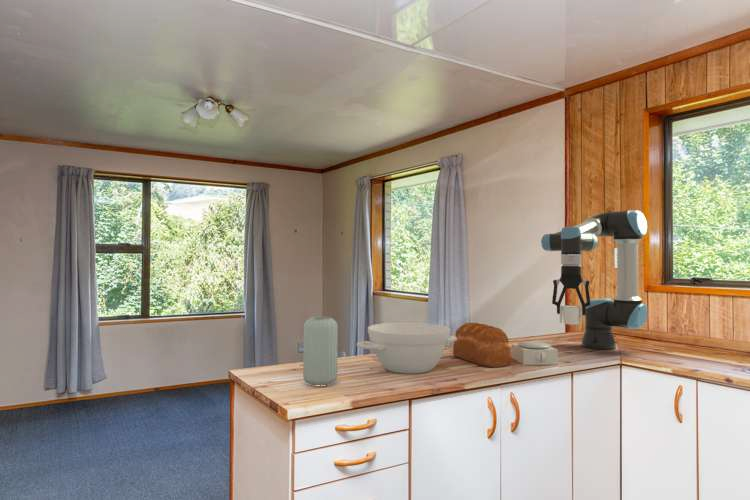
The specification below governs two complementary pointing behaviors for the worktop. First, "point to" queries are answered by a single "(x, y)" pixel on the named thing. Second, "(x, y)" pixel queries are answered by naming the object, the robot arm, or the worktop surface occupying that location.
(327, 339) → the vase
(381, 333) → the pot
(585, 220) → the robot arm
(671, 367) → the worktop surface
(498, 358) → the bread
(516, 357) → the kitchen scale
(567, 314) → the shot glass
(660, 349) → the worktop surface
